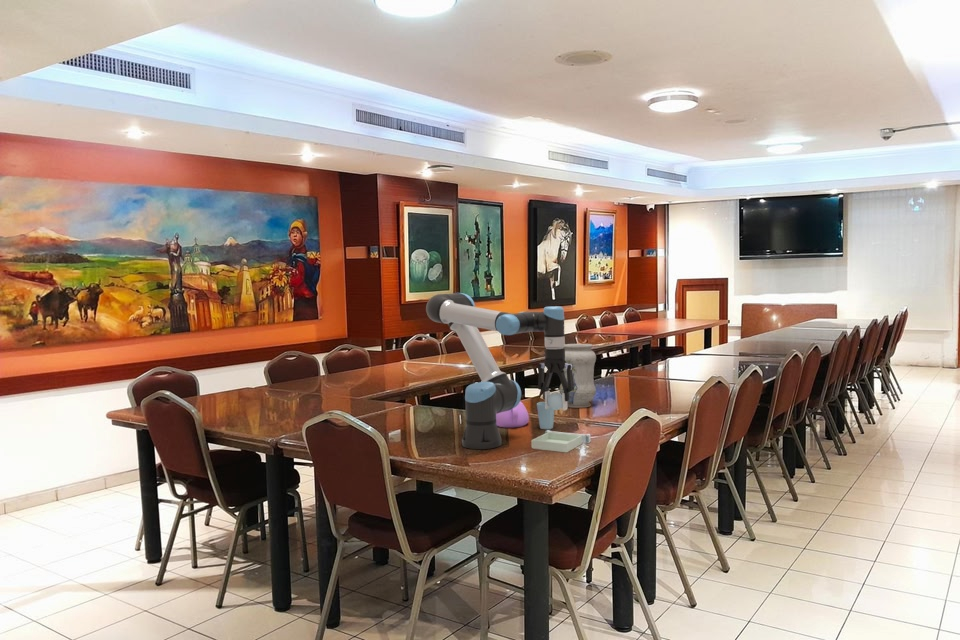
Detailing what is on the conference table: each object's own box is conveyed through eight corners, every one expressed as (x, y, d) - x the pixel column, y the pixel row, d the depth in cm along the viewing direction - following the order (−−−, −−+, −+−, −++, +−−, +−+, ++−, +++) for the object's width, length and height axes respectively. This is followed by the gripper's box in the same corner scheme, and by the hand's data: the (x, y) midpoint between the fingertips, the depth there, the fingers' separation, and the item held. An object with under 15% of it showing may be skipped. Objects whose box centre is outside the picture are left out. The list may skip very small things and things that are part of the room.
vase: (577, 400, 349) (575, 341, 347) (604, 405, 335) (603, 343, 333) (552, 405, 338) (550, 344, 336) (579, 410, 324) (578, 347, 322)
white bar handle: (545, 438, 271) (545, 431, 271) (548, 437, 273) (547, 429, 273) (588, 443, 262) (588, 435, 262) (590, 441, 264) (590, 434, 264)
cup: (553, 425, 294) (553, 401, 294) (557, 429, 287) (556, 404, 286) (536, 426, 294) (535, 402, 293) (539, 430, 286) (538, 405, 285)
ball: (544, 410, 257) (544, 393, 257) (552, 407, 263) (551, 390, 262) (560, 411, 254) (560, 394, 253) (568, 408, 259) (567, 391, 259)
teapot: (534, 428, 290) (534, 400, 289) (498, 431, 287) (497, 402, 286) (522, 418, 311) (521, 391, 310) (488, 420, 309) (487, 393, 308)
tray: (531, 448, 257) (531, 440, 257) (548, 440, 269) (547, 432, 269) (566, 452, 249) (566, 444, 249) (582, 443, 262) (581, 435, 261)
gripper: (527, 348, 259) (528, 409, 260) (574, 349, 249) (576, 412, 250) (536, 346, 265) (537, 405, 266) (582, 347, 255) (584, 409, 256)
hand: (556, 409), depth 258 cm, fingers closed on ball, 6 cm apart
